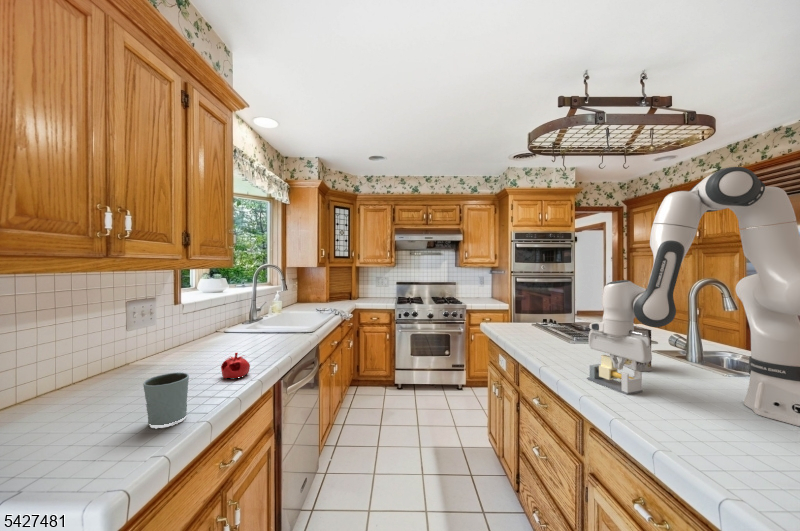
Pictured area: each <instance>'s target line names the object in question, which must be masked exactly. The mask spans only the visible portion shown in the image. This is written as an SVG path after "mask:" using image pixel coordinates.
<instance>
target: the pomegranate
mask: <svg viewBox="0 0 800 531" xmlns="http://www.w3.org/2000/svg"><path fill="white" fill-rule="evenodd" d="M238 353H239V352H234V356H231V355H230V356H228V357H227V358H226V359H225V360H224V361H223V362H222V363H221V365H220V369H221V371H220V372H221V376H222V378H224V379H226V378H238V377H242V376H244V375H246V374H247V375H248V374H249V372H250V368H251V364H250V363H249V362H248V360H247V359H246V358H244V357H246V356H247V355H243V354H242V355H241V356H238ZM247 375H246V376H247ZM244 377H245V376H244ZM242 378H243V377H242ZM238 379H239V378H238Z"/></svg>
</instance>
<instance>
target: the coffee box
mask: <svg viewBox="0 0 800 531" xmlns="http://www.w3.org/2000/svg"><path fill="white" fill-rule="evenodd" d="M634 331H636V332H641V333H645V335H647V336H648V337H649V338H650V347H651V348H652V329H649V328H645V327H640V326H637V325H634ZM644 337H646V336H644ZM623 367H626V368H628V369H631V370H633V371H634V370H637V371H640V372H652V360H651V361H650V362H647V363H641V362H637V361H633V360H630V359H627V360H626V361H625V363H624V364H623Z"/></svg>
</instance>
